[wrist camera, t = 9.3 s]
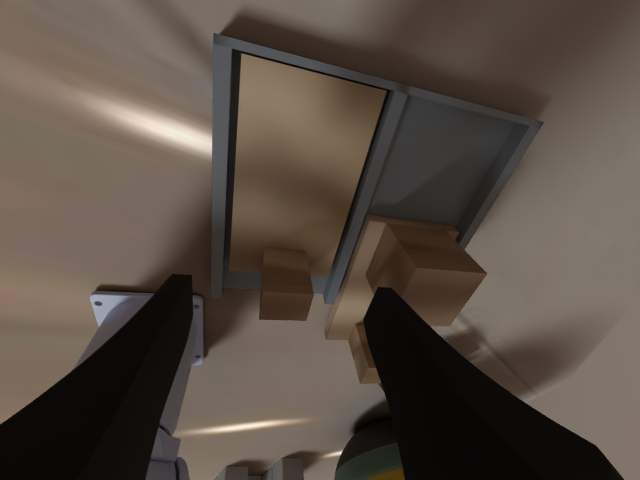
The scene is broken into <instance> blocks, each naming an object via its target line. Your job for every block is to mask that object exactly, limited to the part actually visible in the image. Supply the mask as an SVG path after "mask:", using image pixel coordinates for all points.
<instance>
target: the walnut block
mask: <svg viewBox="0 0 640 480" xmlns="http://www.w3.org/2000/svg"><path fill="white" fill-rule="evenodd" d="M486 275H487V273H486V272H485V271H484V270H483V269H482V268H481V267H480V266H479V265H478V264H477V263H476V262H475V261H474V260H473V259H472V258H471V256H470V255H469V254H468V253H467V252H466V251H465V250H464V249H463V248H462V247H461V246H460V245H459V244H458V243H457V242H456V241H455V240H454V239H453V238H452V237H451V236H450V235H449V234H448V233H447V232H446V231H445V230H437V229H429V228H421V227H413V226H405V225H397V224H389V223H386V225H385V228H384V230H383V233H382V235H381V238H380V240H379V242H378V245H377V247H376V250H375V252H374V255H373V257H372V260H371V262H370V265H369V267H368V269H367V272H366V274H365V276H366V278H367V280H368V283H369V285H370V287H371V290H372V292H373V295H374V294H375V292H376V290H377V288H378V287H390V288H392V289H393V290H394V291H395V292H396V293H397V294H398V295H399V296H400V297H401V298H402V299H403V300H404V301H405V302H406V303H407V304H408V305H409V306H410V307H411V308H412V309H413V310H414V311H415V312H416V313H417V314H418V315H419V316H420V317H421V318H422V319H423V320H424V321H425V322H426V323H427V324H428V325H429V326H450V325H451V323H452V322H453V321H454V319H455V318H456V316H457V315H458V314H459V312H460V311H461V310H462V308H463V307H464V305H465V304H466V303H467V301H468V300H469V298H470V297H471V296H472V294H473V293H474V291H475V290H476V289H477V287H478V286H479V285H480V283H481V282H482V280H483V279H484V278H485V276H486Z"/></svg>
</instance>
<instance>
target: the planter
mask: <svg viewBox="0 0 640 480" xmlns="http://www.w3.org/2000/svg"><path fill="white" fill-rule="evenodd" d="M334 480H405V477H404V472H403V467H402V462H401V457H400V452H399V448H398V443H397V438H396V434H395V430H394V426H393V421H392V419H387V420H381V421H377V422H374V423H372V424H369V425H367V426H366V427H364V428H362V429H361V430H359V431H358V432H357V433H356V434H355V435H354V436H353V437H352V438H351V439H350V441H349V442H348V443H347V445H346V447H345V448H344V450H343V452H342V454H341V456H340V459H339V461H338V464H337V468H336V472H335V479H334Z"/></svg>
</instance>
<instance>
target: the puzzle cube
mask: <svg viewBox="0 0 640 480" xmlns="http://www.w3.org/2000/svg"><path fill="white" fill-rule="evenodd" d="M214 480H304V476H303V463H302V458H281V459H280V460H279V461H278V462H277V463H276V464H275V465H274V466H273V467H271V468H270V469H269V470H268V471H267V472H266V473H265V474H264V475H263V476H262V477H261V476H248V467H237V466H226V467H225V468H224V469H223V470H222V471H221V472H220V474H219V475H218V476H217V477H216V478H215V479H214Z"/></svg>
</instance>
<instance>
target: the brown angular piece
mask: <svg viewBox="0 0 640 480" xmlns="http://www.w3.org/2000/svg"><path fill="white" fill-rule="evenodd" d="M386 223H389V224H397V225H405V226H413V227H421V228H429V229H437V230H445V231H446V232H447V233H448V234H449V235H450V236H451V237H452V238H453V239H454V240H455V239H456V237H457V235H458V234H459V232H458V231H457V230H456V229H455V228H454V227H453V226H451V225H444V224H436V223H429V222H421V221H414V220H406V219H398V218H391V217H383V216H376V215H368V214H366V215H365V218H364V221H363V224H362V227H361V229H360V232H359V235H358V238H357V241H356V243H355V246H354V249H353V252H352V255H351V258H350V260H349V263H348V266H347V269H346V272H345V275H344V277H343V280H342V283H341V286H340V289H339V291H338V294H337V297H336V300H335V303H334V306H333V308H332V311H331V314H330V317H329V320H328V322H327V325H326V328H325V331H324V332H325V337H326V340H348V341H349V345H350V348H351V352H352V356H353V359H354V363H355V367H356V370H357V374H358V378H359V381H360V384H370V383H381V381H380V378H379V375H378V372H377V369H376V367H375V364H374V361H373V358H372V355H371V352H370V349H369V346H368V342H367V338H366V333H365V328H364V322H363V318H364V316H365V314H366V312H367V310H368V307H369V305H370V303H371V301H372V299H373V296H374V295H373V292H372V290H371V287H370V285H369V283H368V280H367V278H366V276H365V274H366V272H367V269H368V267H369V265H370V262H371V260H372V257H373V255H374V252H375V250H376V247H377V245H378V242H379V240H380V238H381V235H382V233H383V230H384V228H385V225H386Z"/></svg>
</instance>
